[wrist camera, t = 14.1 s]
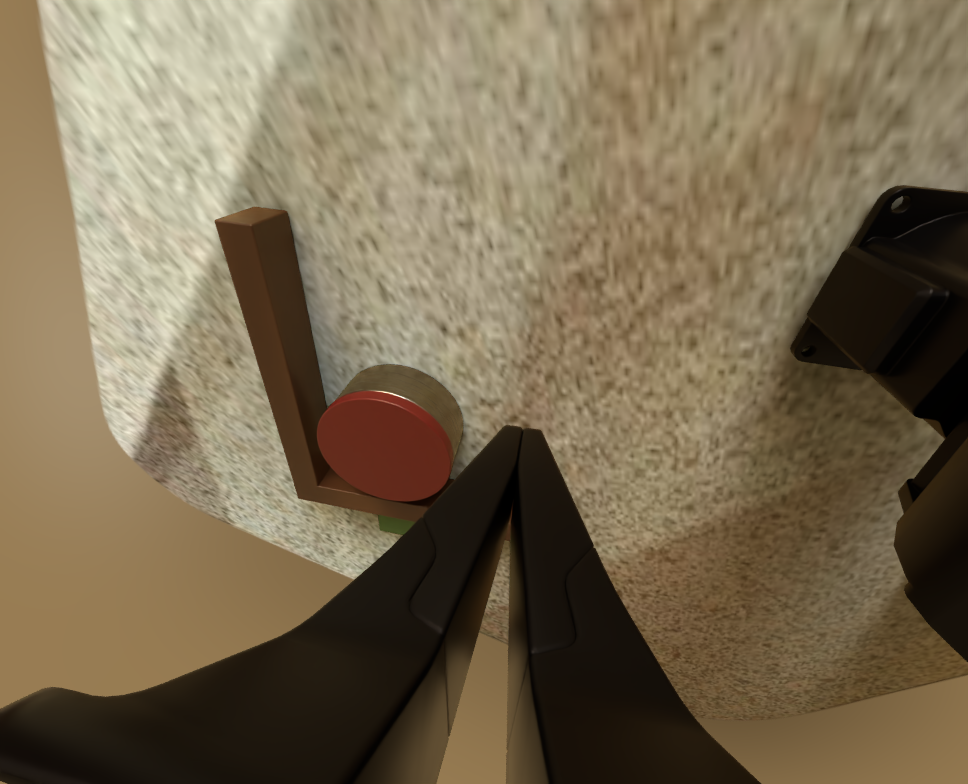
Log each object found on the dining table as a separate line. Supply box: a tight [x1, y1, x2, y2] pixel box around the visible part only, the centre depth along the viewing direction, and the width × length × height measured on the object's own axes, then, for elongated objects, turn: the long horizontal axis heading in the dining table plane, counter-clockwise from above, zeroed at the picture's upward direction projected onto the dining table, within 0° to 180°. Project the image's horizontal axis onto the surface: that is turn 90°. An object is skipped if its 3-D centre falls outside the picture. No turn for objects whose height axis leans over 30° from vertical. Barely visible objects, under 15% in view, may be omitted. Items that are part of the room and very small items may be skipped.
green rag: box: [378, 515, 415, 535], centre depth 28 cm, size 7×4×1 cm, turn 86°
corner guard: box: [215, 207, 513, 541], centre depth 21 cm, size 16×17×2 cm
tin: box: [317, 364, 463, 501], centre depth 22 cm, size 7×7×3 cm
